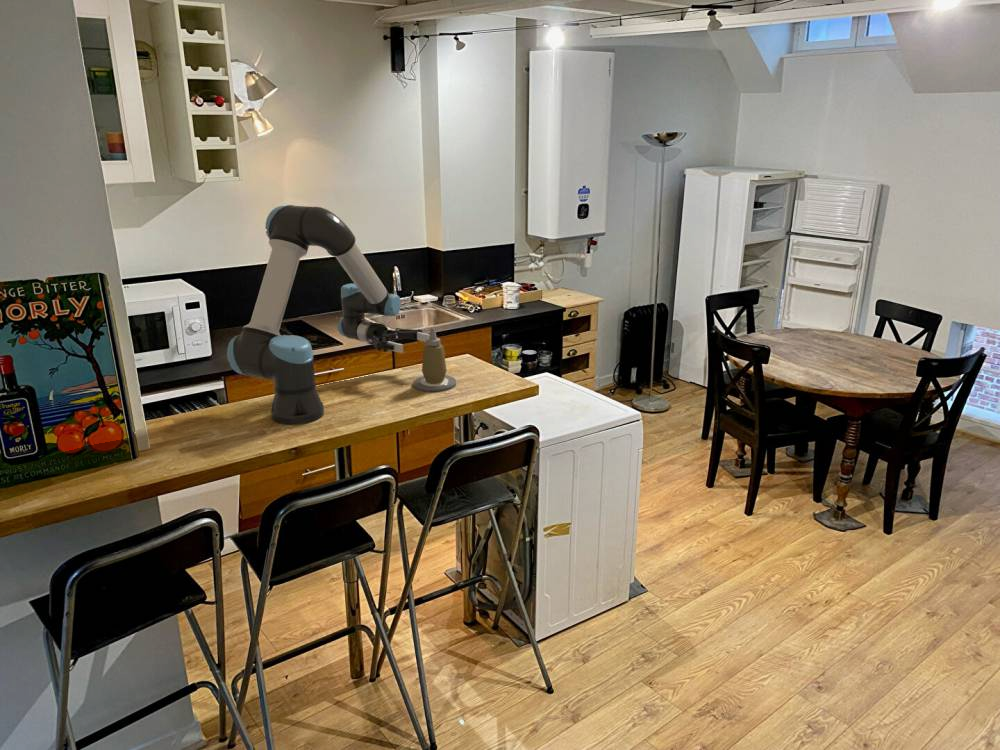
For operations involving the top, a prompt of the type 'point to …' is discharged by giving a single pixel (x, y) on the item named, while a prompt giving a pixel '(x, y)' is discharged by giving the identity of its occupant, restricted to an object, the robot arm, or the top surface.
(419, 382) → the coaster
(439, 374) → the squeeze bottle
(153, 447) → the top surface
